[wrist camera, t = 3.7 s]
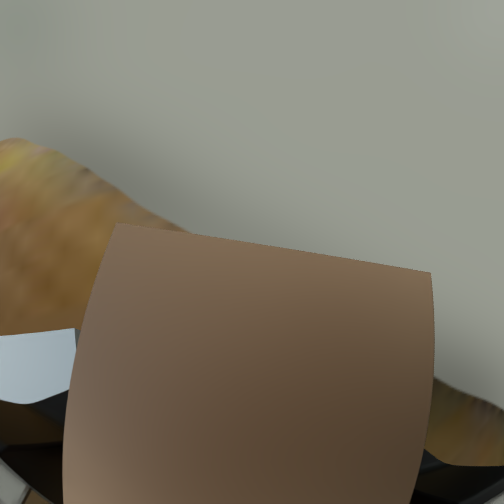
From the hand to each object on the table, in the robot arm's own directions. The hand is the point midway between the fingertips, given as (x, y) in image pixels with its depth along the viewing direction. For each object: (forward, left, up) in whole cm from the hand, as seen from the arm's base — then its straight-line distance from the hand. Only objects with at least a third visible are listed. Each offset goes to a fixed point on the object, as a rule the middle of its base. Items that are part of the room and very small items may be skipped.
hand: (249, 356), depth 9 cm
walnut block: (-1, +1, -7) cm, 7 cm away
